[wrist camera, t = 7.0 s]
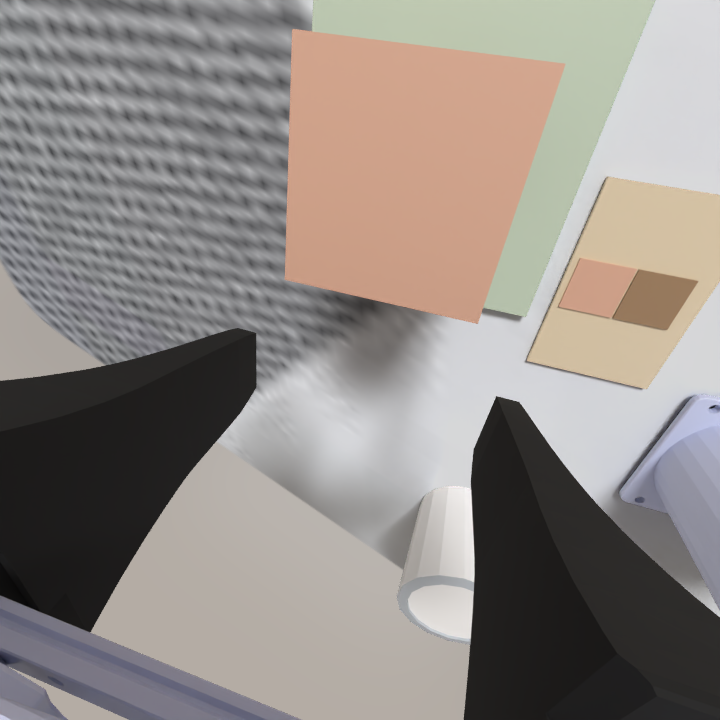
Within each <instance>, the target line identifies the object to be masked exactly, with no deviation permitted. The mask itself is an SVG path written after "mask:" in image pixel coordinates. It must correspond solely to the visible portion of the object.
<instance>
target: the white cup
mask: <svg viewBox="0 0 720 720" xmlns="http://www.w3.org/2000/svg"><path fill="white" fill-rule="evenodd" d="M474 576H475V567H474V538H473V518H472V496H471V489H469V488H466V487H458V486H446V487H441V488H437V489H434V490H432V491H431V492H430V493H428V494H427V495H425V496H424V498H423V500H422V502H421V504H420V508H419V512H418V516H417V520H416V523H415V527H414V531H413V535H412V539H411V543H410V547H409V551H408V555H407V558H406V562H405V566H404V570H403V574H402V578H401V582H400V586H399V590H398V594H397V599H398V604H399V608H400V610H401V611H402V612H403V613H404V615H405V616H406V617H407V618H408V619H409V620H410V622H412V623H413V624H415V625H416V626H418V627H420V628H421V629H423V630H424V631H426V632H427V633H430V634H433V635H435V636H437V637H440V638H443V639H445V640H448V641H454V642H458V643H464V644H469V645H470V642H471V627H472V613H473V595H474Z"/></svg>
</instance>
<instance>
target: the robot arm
mask: <svg viewBox="0 0 720 720" xmlns="http://www.w3.org/2000/svg"><path fill="white" fill-rule="evenodd" d="M255 389H256V333H254V332H251V331H247V330H243V329H239V328H236V329H231V330H228V331H224V332H221V333H217V334H214V335H211V336H208V337H205V338H202V339H199V340H196V341H193V342H190V343H186V344H183V345H180V346H177V347H174V348H171V349H167V350H164V351H160V352H157V353H153V354H150V355H146V356H143V357H140V358H136V359H132V360H128V361H124V362H120V363H116V364H111V365H106V366H101V367H96V368H92V369H86V370H80V371H74V372H67V373H61V374H54V375H48V376H41V377H33V378H24V379H15V380H5V381H0V720H68V719H67V718H65V717H64V716H63V715H62V714H61V713H60V712H59V710H58V709H57V708H56V707H55V706H54V705H53V704H52V703H51V701H50V699H49V697H48V695H47V692H46V690H45V689H44V688H42V687H41V686H39V685H37V684H36V683H34V682H32V681H31V680H29V679H27V678H26V677H24V676H22V675H21V674H19V673H17V672H16V671H14V670H12V669H11V668H14V669H16V670H18V671H20V672H22V673H25V674H27V675H29V676H32V677H34V678H36V679H38V680H40V681H43V682H45V683H47V684H49V685H52V686H54V687H56V688H59V689H61V690H63V691H65V692H68V693H70V694H72V695H74V696H77V697H79V698H81V699H84V700H86V701H88V702H90V703H93V704H95V705H97V706H100V707H101V708H104V709H106V710H108V711H111V712H113V713H115V714H118V715H120V716H122V717H124V718H127V719H129V720H301V719H299V718H296V717H294V716H291V715H289V714H287V713H284V712H282V711H279V710H277V709H274V708H272V707H270V706H267V705H264V704H262V703H260V702H257V701H255V700H253V699H250V698H248V697H245V696H243V695H240V694H238V693H235V692H233V691H231V690H228V689H226V688H223V687H221V686H218V685H216V684H214V683H211V682H209V681H206V680H204V679H201V678H199V677H197V676H194V675H192V674H189V673H187V672H184V671H182V670H180V669H177V668H175V667H172V666H170V665H168V664H165V663H162V662H160V661H158V660H155V659H153V658H150V657H148V656H146V655H143V654H141V653H138V652H136V651H133V650H131V649H128V648H126V647H124V646H121V645H119V644H117V643H114V642H112V641H109V640H107V639H104V638H102V637H100V636H97V635H95V634H92V633H90V632H91V630H92V628H93V627H94V624H95V623H96V621H97V619H98V617H99V616H100V614H101V612H102V610H103V609H104V607H105V605H106V603H107V601H108V600H109V598H110V596H111V594H112V593H113V591H114V589H115V587H116V585H117V584H118V582H119V580H120V579H121V577H122V575H123V574H124V572H125V570H126V569H127V567H128V565H129V564H130V562H131V560H132V559H133V557H134V555H135V554H136V552H137V551H138V549H139V547H140V546H141V544H142V542H143V541H144V539H145V538H146V536H147V534H148V533H149V531H150V530H151V528H152V527H153V525H154V524H155V522H156V521H157V519H158V517H159V516H160V514H161V513H162V511H163V510H164V508H165V507H166V505H167V504H168V502H169V501H170V500H171V498H172V497H173V495H174V494H175V492H176V491H177V489H178V488H179V487H180V485H181V484H182V482H183V480H184V479H185V478H186V476H188V474H189V473H190V471H191V470H192V469H193V468H194V467H195V465H196V464H197V463H198V462H199V461H200V460H201V458H202V457H203V456H204V455H205V454H206V453H207V451H208V450H209V449H210V448H211V447H212V446H213V444H214V443H215V442H216V441H217V440H218V439H219V438H220V436H221V435H222V434H223V433H224V432H225V431H226V429H227V428H228V427H229V426H230V425H231V423H232V422H233V421H234V420H235V419H236V417H237V416H238V415H239V414H240V412H241V411H242V409H243V408H244V406H245V405H246V403H247V402H248V400H249V399H250V397H251V395H252V394H253V392H254V390H255ZM713 405H717V406H716V407H714V408H711V409H709V407H711V406H713ZM619 494H620V497H621V499H622V500H623V501H625V502H627V503H631V504H635V505H638V506H642V507H645V508H649V509H652V510H656V511H660V512H663V513H667V514H669V515H670V517H671V519H672V521H673V523H674V525H675V527H676V529H677V531H678V532H679V534H680V536H681V538H682V540H683V542H684V544H685V546H686V548H687V549H688V551H689V553H690V555H691V557H692V559H693V561H694V563H695V565H696V566H697V568H698V570H699V572H700V574H701V576H702V578H703V580H704V582H705V583H706V585H707V587H708V589H709V591H710V593H711V595H712V597H713V599H714V600H715V602H716V604H717V606H718V608H719V610H720V398H719V397H714V396H710V395H705V394H700V395H696V396H694V397H692V398H691V399H690V400H689V401H688V402H687V404H686V405H685V406H684V408H683V409H682V410H681V412H680V413H679V414H678V415H677V417H676V418H675V419H674V421H673V422H672V423H671V425H670V426H669V427H668V428H667V430H666V431H665V432H664V434H663V435H662V436H661V438H660V439H659V440H658V442H657V443H656V444H655V445H654V447H653V448H652V449H651V451H650V452H649V453H648V455H647V456H646V457H645V458H644V460H643V461H642V462H641V464H640V465H639V466H638V468H637V469H636V470H635V472H634V473H633V474H632V475H631V477H630V478H629V479H628V481H627V482H626V483H625V485H624V486H623V487H622V489H621V490H620V492H619ZM471 496H472V518H473V538H474V567H475V576H474V595H473V613H472V627H471V642H470V656H469V669H468V680H467V690H466V701H465V712H464V720H720V617H718V616H717V615H716V614H715V613H714V612H712V611H711V610H710V609H709V608H708V607H706V606H705V605H704V604H703V603H701V602H700V601H699V600H698V599H697V598H695V597H694V596H693V595H692V594H691V593H689V592H688V591H687V590H686V589H685V588H684V587H682V586H681V585H680V584H679V583H678V582H677V581H676V580H674V579H673V578H672V577H671V576H670V575H669V574H668V573H666V572H665V571H664V570H663V569H662V568H661V567H660V566H659V565H658V564H657V563H656V562H655V561H653V560H652V559H651V558H650V557H649V556H648V555H647V554H646V553H645V552H644V551H643V550H642V549H641V548H639V547H638V546H637V545H636V544H635V543H634V542H633V541H632V540H631V539H630V538H629V537H628V536H627V535H626V534H625V533H624V532H623V531H622V530H621V529H620V528H619V527H618V526H617V525H616V524H615V523H614V522H613V521H612V520H611V518H610V517H609V516H608V515H607V514H606V513H605V512H604V511H603V510H602V509H601V508H600V507H599V506H598V505H597V504H596V502H595V501H594V500H593V499H592V498H591V497H590V496H589V495H588V493H587V492H586V491H585V490H584V489H583V487H582V486H581V485H580V484H579V483H578V481H577V480H576V479H575V478H574V477H573V475H572V474H571V473H570V472H569V470H568V469H567V468H566V467H565V465H564V464H563V463H562V461H561V460H560V459H559V457H558V456H557V455H556V453H555V452H554V451H553V449H552V448H551V447H550V445H549V444H548V442H547V441H546V440H545V438H544V437H543V435H542V434H541V433H540V431H539V430H538V428H537V427H536V425H535V424H534V422H533V421H532V420H531V418H530V417H529V415H528V414H527V412H526V411H525V409H524V408H523V407H522V405H521V404H520V403H519V402H517V401H513V400H509V399H505V398H501V397H498V396H496V399H495V401H494V403H493V406H492V408H491V410H490V413H489V415H488V417H487V420H486V422H485V424H484V427H483V429H482V431H481V434H480V436H479V438H478V441H477V443H476V445H475V448H474V452H473V462H472V474H471ZM637 497H639V498H637ZM8 666H9V667H11V668H9V667H8Z"/></svg>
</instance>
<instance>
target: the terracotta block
mask: <svg viewBox="0 0 720 720" xmlns="http://www.w3.org/2000/svg"><path fill="white" fill-rule="evenodd" d="M564 67H565V64H564V63H557V62H549V61H541V60H533V59H525V58H517V57H509V56H501V55H493V54H486V53H478V52H470V51H462V50H454V49H446V48H438V47H430V46H423V45H415V44H407V43H399V42H391V41H383V40H375V39H367V38H359V37H352V36H344V35H336V34H328V33H320V32H312V31H304V30H296V29H292V58H291V91H290V125H289V159H288V193H287V227H286V261H285V280H289V281H293V282H297V283H302V284H306V285H311V286H315V287H319V288H324V289H328V290H332V291H337V292H341V293H345V294H350V295H354V296H359V297H363V298H367V299H372V300H376V301H380V302H385V303H389V304H393V305H398V306H402V307H407V308H411V309H415V310H420V311H424V312H428V313H433V314H437V315H441V316H446V317H450V318H455V319H459V320H463V321H468V322H472V323H476V324H478V321H479V318H480V315H481V313H482V310H483V307H484V304H485V301H486V298H487V295H488V292H489V289H490V286H491V283H492V280H493V277H494V274H495V271H496V268H497V265H498V262H499V259H500V256H501V253H502V251H503V248H504V245H505V242H506V239H507V236H508V233H509V230H510V227H511V224H512V221H513V218H514V215H515V212H516V209H517V206H518V203H519V200H520V197H521V194H522V191H523V188H524V186H525V183H526V180H527V177H528V174H529V171H530V168H531V165H532V162H533V159H534V156H535V153H536V150H537V147H538V144H539V141H540V138H541V135H542V132H543V129H544V126H545V124H546V121H547V118H548V115H549V112H550V109H551V106H552V103H553V100H554V97H555V94H556V91H557V88H558V85H559V82H560V79H561V76H562V73H563V70H564Z"/></svg>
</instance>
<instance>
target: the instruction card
mask: <svg viewBox="0 0 720 720" xmlns="http://www.w3.org/2000/svg"><path fill="white" fill-rule="evenodd" d="M719 282H720V195H716V194H710V193H704V192H698V191H691V190H685V189H679V188H673V187H667V186H661V185H655V184H649V183H643V182H637V181H630V180H624V179H618V178H612V177H606V180H605V182H604V184H603V187H602V189H601V191H600V193H599V196H598V198H597V200H596V202H595V205H594V207H593V209H592V212H591V214H590V216H589V218H588V221H587V223H586V225H585V228H584V230H583V232H582V234H581V237H580V239H579V241H578V243H577V246H576V248H575V250H574V253H573V255H572V257H571V259H570V262H569V264H568V266H567V268H566V271H565V273H564V275H563V278H562V280H561V282H560V284H559V287H558V289H557V291H556V294H555V296H554V298H553V300H552V303H551V305H550V307H549V309H548V312H547V314H546V316H545V319H544V321H543V323H542V325H541V328H540V330H539V332H538V334H537V337H536V339H535V341H534V344H533V346H532V348H531V350H530V353H529V355H528V357H527V361H529V362H534V363H538V364H542V365H546V366H550V367H555V368H559V369H563V370H567V371H571V372H576V373H580V374H584V375H588V376H593V377H597V378H601V379H605V380H609V381H614V382H618V383H622V384H626V385H631V386H635V387H639V388H643V389H647V388H648V387H649V385H650V384H651V382H652V381H653V379H654V378H655V376H656V375H657V373H658V372H659V370H660V369H661V367H662V366H663V364H664V363H665V361H666V360H667V359H668V357H669V356H670V354H671V353H672V351H673V350H674V348H675V347H676V345H677V344H678V342H679V341H680V339H681V338H682V336H683V335H684V333H685V332H686V330H687V329H688V327H689V326H690V325H691V323H692V322H693V320H694V319H695V317H696V316H697V314H698V313H699V311H700V310H701V308H702V307H703V305H704V304H705V302H706V301H707V299H708V298H709V296H710V295H711V293H712V292H713V290H714V289H715V288H716V286H717V285H718V283H719Z"/></svg>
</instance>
